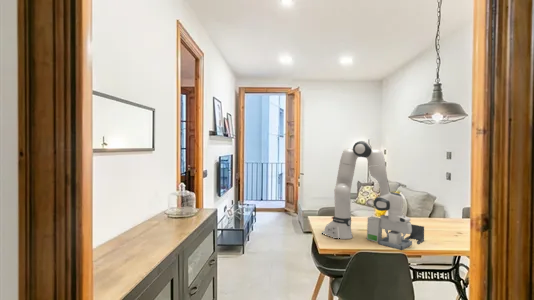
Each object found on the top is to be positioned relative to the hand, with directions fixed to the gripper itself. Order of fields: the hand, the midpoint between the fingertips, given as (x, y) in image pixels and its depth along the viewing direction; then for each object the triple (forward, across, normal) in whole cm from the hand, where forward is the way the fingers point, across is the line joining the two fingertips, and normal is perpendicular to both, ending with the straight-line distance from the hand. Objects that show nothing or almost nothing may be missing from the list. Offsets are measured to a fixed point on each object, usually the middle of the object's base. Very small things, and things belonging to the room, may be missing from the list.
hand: (395, 237), depth 200 cm
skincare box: (+5, -14, -1) cm, 15 cm away
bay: (+4, +6, +16) cm, 18 cm away
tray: (+4, 0, 0) cm, 4 cm away
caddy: (+4, 0, 0) cm, 4 cm away
